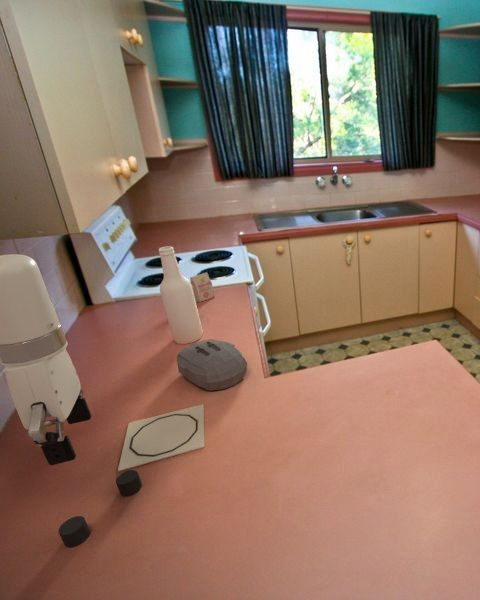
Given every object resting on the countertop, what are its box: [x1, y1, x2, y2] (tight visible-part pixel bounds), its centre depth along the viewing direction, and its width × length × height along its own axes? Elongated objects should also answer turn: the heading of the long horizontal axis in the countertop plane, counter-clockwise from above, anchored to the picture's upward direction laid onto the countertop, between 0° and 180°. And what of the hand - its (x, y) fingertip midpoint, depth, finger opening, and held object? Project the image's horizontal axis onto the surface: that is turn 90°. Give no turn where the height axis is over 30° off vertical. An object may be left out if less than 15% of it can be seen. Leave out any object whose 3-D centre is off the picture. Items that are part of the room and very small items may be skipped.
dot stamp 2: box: [115, 469, 143, 497], centre depth 80 cm, size 4×4×3 cm
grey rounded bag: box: [176, 338, 248, 391], centre depth 115 cm, size 15×8×20 cm
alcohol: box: [158, 245, 204, 345], centre depth 130 cm, size 9×9×30 cm
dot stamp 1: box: [57, 515, 91, 548], centre depth 71 cm, size 4×4×3 cm
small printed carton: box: [189, 272, 216, 304], centre depth 164 cm, size 4×7×10 cm, turn 144°
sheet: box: [117, 403, 206, 473], centre depth 94 cm, size 16×16×1 cm
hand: (72, 439), depth 66 cm, fingers open, 9 cm apart
